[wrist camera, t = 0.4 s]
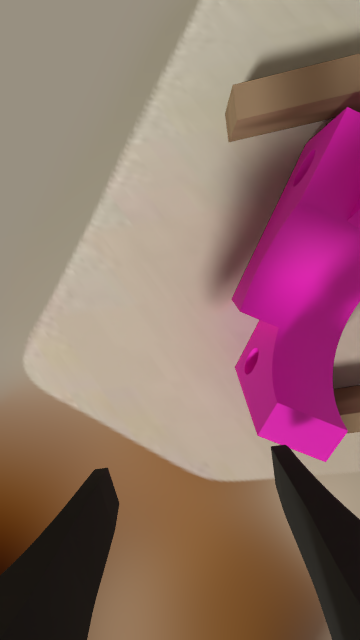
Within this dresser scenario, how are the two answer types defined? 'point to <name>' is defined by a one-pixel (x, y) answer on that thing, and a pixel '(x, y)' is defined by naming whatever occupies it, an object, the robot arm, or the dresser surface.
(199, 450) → the dresser surface
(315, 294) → the toy block
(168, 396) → the dresser surface
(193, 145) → the dresser surface
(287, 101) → the pair of brown pieces
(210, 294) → the dresser surface
